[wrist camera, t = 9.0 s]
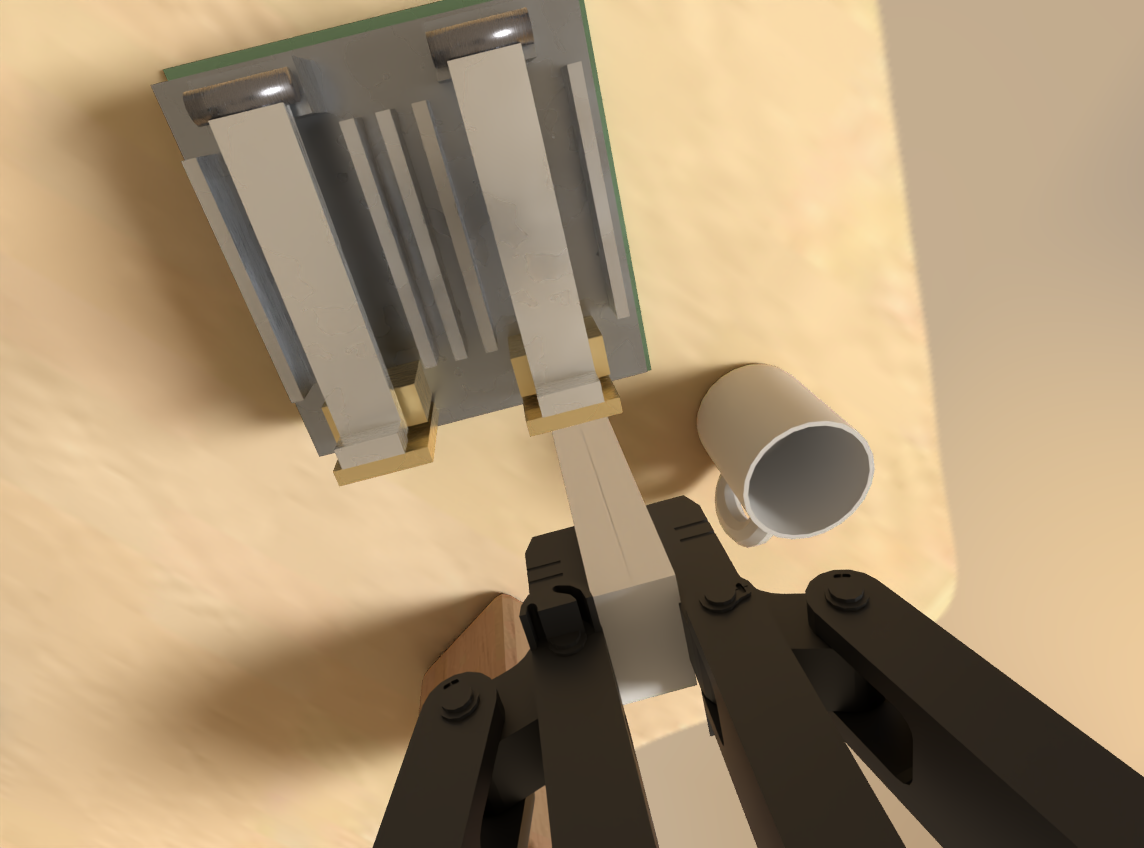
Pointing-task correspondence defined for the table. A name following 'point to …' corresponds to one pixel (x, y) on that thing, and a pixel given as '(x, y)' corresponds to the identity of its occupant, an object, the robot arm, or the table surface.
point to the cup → (780, 457)
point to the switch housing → (427, 216)
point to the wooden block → (492, 674)
